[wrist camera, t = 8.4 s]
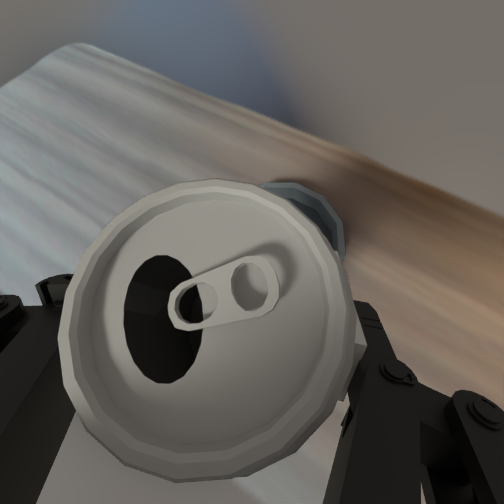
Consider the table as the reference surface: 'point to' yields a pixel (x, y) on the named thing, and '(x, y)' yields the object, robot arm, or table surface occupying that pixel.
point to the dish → (313, 211)
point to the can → (208, 332)
